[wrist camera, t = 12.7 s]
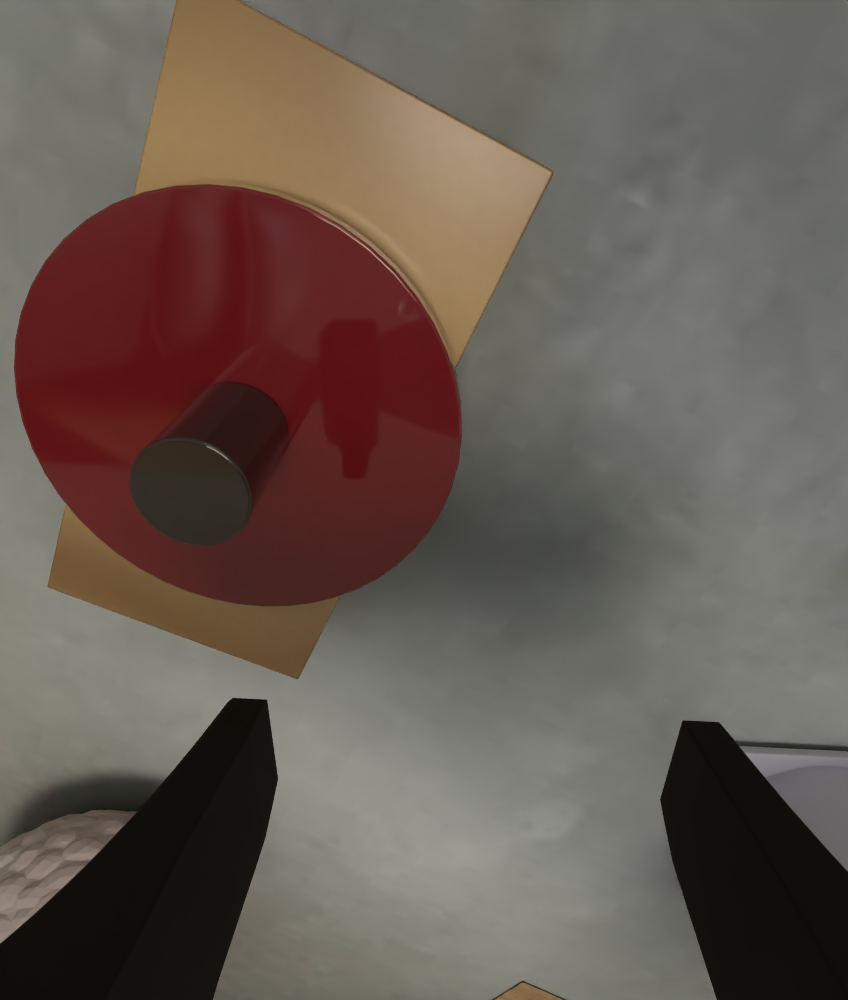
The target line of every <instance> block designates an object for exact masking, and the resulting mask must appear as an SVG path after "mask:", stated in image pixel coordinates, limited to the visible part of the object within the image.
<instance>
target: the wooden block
mask: <svg viewBox="0 0 848 1000" xmlns="http://www.w3.org/2000/svg"><path fill="white" fill-rule="evenodd" d="M552 176H553V171H552V170H551V169H549V168H547V167H545V166H543V165H542V164H540V163H538V162H536V161H534V160H532V159H530V158H529V157H527V156H525V155H523V154H521V153H519V152H517V151H516V150H514V149H512V148H510V147H508V146H506V145H505V144H503V143H501V142H499V141H497V140H495V139H493V138H492V137H490V136H488V135H486V134H484V133H482V132H481V131H479V130H477V129H475V128H473V127H471V126H469V125H468V124H466V123H464V122H462V121H460V120H458V119H457V118H455V117H453V116H451V115H449V114H447V113H445V112H444V111H442V110H440V109H438V108H436V107H434V106H433V105H431V104H429V103H427V102H425V101H423V100H421V99H420V98H418V97H416V96H414V95H412V94H410V93H409V92H407V91H405V90H403V89H401V88H399V87H397V86H396V85H394V84H392V83H390V82H388V81H386V80H385V79H383V78H381V77H379V76H377V75H375V74H373V73H372V72H370V71H368V70H366V69H364V68H362V67H361V66H359V65H357V64H355V63H353V62H351V61H349V60H348V59H346V58H344V57H342V56H340V55H338V54H336V53H335V52H333V51H331V50H329V49H327V48H325V47H324V46H322V45H320V44H318V43H316V42H314V41H312V40H311V39H309V38H307V37H305V36H303V35H301V34H300V33H298V32H296V31H294V30H292V29H290V28H288V27H287V26H285V25H283V24H281V23H279V22H277V21H276V20H274V19H272V18H270V17H268V16H266V15H264V14H263V13H261V12H259V11H257V10H255V9H253V8H252V7H250V6H248V5H246V4H244V3H242V2H240V1H239V0H177V1H176V5H175V10H174V14H173V19H172V24H171V28H170V33H169V37H168V42H167V46H166V51H165V55H164V60H163V64H162V69H161V74H160V78H159V83H158V87H157V92H156V96H155V101H154V105H153V110H152V114H151V119H150V123H149V128H148V133H147V137H146V142H145V146H144V151H143V155H142V160H141V164H140V169H139V173H138V178H137V183H136V187H135V192H134V195H137V194H140V193H142V192H146V191H151V190H156V189H161V188H166V187H170V186H175V185H181V184H196V183H215V182H216V183H227V184H237V185H248V186H253V187H257V188H261V189H265V190H270V191H274V192H278V193H282V194H285V195H287V196H290V197H293V198H295V199H298V200H300V201H303V202H306V203H308V204H311V205H313V206H316V207H317V208H319V209H321V210H323V211H325V212H327V213H328V214H330V215H332V216H334V217H336V218H337V219H339V220H341V221H343V222H345V223H346V224H348V225H349V226H350V227H352V228H353V229H354V230H356V231H357V232H359V233H360V234H361V235H363V236H364V237H365V238H367V239H368V240H370V241H371V242H372V243H373V244H375V245H376V246H377V247H378V248H379V249H380V250H381V251H382V252H383V253H384V254H385V255H386V256H387V257H388V258H389V259H390V260H391V261H393V262H394V263H395V264H396V265H397V266H398V268H399V269H400V270H401V271H402V272H403V274H404V275H405V276H406V277H407V278H408V280H409V281H410V282H411V283H412V285H413V286H414V287H415V288H416V289H417V291H418V292H419V294H420V295H421V297H422V298H423V300H424V302H425V303H426V305H427V306H428V308H429V310H430V311H431V313H432V314H433V316H434V318H435V320H436V322H437V324H438V326H439V328H440V330H441V333H442V335H443V337H444V339H445V341H446V344H447V346H448V349H449V352H450V355H451V358H452V362H453V365H454V368H456V366H457V364H458V362H459V360H460V358H461V356H462V354H463V352H464V350H465V348H466V346H467V344H468V342H469V340H470V338H471V336H472V334H473V332H474V330H475V328H476V326H477V324H478V322H479V320H480V318H481V316H482V314H483V312H484V310H485V308H486V306H487V304H488V302H489V300H490V298H491V296H492V294H493V292H494V290H495V288H496V286H497V284H498V283H499V281H500V279H501V277H502V275H503V273H504V271H505V269H506V267H507V265H508V263H509V261H510V259H511V257H512V255H513V253H514V251H515V249H516V247H517V245H518V243H519V241H520V239H521V237H522V235H523V233H524V231H525V229H526V227H527V225H528V223H529V221H530V219H531V217H532V215H533V213H534V211H535V209H536V207H537V205H538V203H539V201H540V199H541V197H542V195H543V193H544V191H545V189H546V188H547V186H548V184H549V182H550V180H551V178H552ZM48 587H49V588H51V589H54V590H57V591H59V592H62V593H65V594H67V595H70V596H73V597H76V598H78V599H81V600H84V601H86V602H89V603H92V604H95V605H97V606H100V607H103V608H105V609H108V610H111V611H114V612H116V613H119V614H122V615H125V616H127V617H130V618H133V619H135V620H138V621H141V622H144V623H146V624H149V625H152V626H154V627H157V628H160V629H163V630H165V631H168V632H171V633H173V634H176V635H179V636H182V637H184V638H187V639H190V640H192V641H195V642H198V643H201V644H203V645H206V646H209V647H211V648H214V649H217V650H220V651H222V652H225V653H228V654H230V655H233V656H236V657H239V658H241V659H244V660H247V661H249V662H252V663H255V664H258V665H260V666H263V667H266V668H268V669H271V670H274V671H277V672H279V673H282V674H285V675H287V676H290V677H293V678H296V679H298V678H299V676H300V674H301V672H302V670H303V668H304V666H305V665H306V663H307V661H308V659H309V657H310V655H311V653H312V651H313V649H314V647H315V645H316V643H317V641H318V639H319V637H320V635H321V633H322V631H323V629H324V627H325V625H326V623H327V621H328V619H329V617H330V615H331V613H332V611H333V609H334V607H335V605H336V603H337V601H338V599H339V597H340V596H338V597H335V598H331V599H327V600H323V601H319V602H314V603H310V604H301V605H293V606H252V605H242V604H234V603H229V602H224V601H219V600H214V599H210V598H207V597H204V596H201V595H197V594H194V593H191V592H188V591H185V590H183V589H180V588H178V587H176V586H173V585H171V584H168V583H166V582H164V581H162V580H160V579H158V578H156V577H154V576H152V575H150V574H149V573H147V572H145V571H143V570H141V569H139V568H138V567H136V566H135V565H133V564H132V563H130V562H129V561H127V560H126V559H124V558H123V557H121V556H120V555H118V554H117V553H116V552H115V551H113V550H112V549H111V548H110V547H108V546H107V545H106V544H105V543H104V542H102V541H101V540H100V539H99V538H97V537H96V536H95V535H94V534H93V533H92V532H91V531H90V530H89V529H88V528H87V527H86V526H85V525H84V524H83V523H82V522H81V521H80V520H79V519H78V518H77V516H76V515H75V514H74V513H73V512H72V510H71V509H70V508H69V507H68V505H67V504H66V505H65V510H64V514H63V519H62V523H61V528H60V532H59V537H58V541H57V546H56V550H55V555H54V560H53V564H52V569H51V573H50V578H49V582H48Z"/></svg>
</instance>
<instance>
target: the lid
mask: <svg viewBox="0 0 848 1000" xmlns="http://www.w3.org/2000/svg"><path fill="white" fill-rule="evenodd" d="M14 372H15V382H16V393H17V399H18V403H19V408H20V412H21V416H22V421H23V424H24V427H25V430H26V432H27V435H28V438H29V440H30V443H31V446H32V449H33V451H34V453H35V455H36V457H37V458H38V460H39V462H40V464H41V466H42V468H43V470H44V472H45V474H46V476H47V477H48V479H49V480H50V482H51V483H52V485H53V486H54V488H55V489H56V491H57V492H58V494H59V495H60V497H61V498H62V499H63V501H64V502H65V503H66V504H67V505H68V507H69V508H70V509H71V510H72V512H73V513H74V514H75V515H76V516H77V518H78V519H79V520H80V521H81V522H82V523H83V524H84V525H85V526H86V527H87V528H88V529H89V530H90V531H91V532H92V533H93V534H94V535H95V536H96V537H97V538H99V539H100V540H101V541H102V542H104V543H105V544H106V545H107V546H108V547H110V548H111V549H112V550H113V551H115V552H116V553H117V554H118V555H120V556H121V557H123V558H124V559H126V560H127V561H129V562H130V563H132V564H133V565H135V566H136V567H138V568H139V569H141V570H143V571H145V572H147V573H149V574H150V575H152V576H154V577H156V578H158V579H160V580H162V581H164V582H166V583H168V584H171V585H173V586H176V587H178V588H180V589H183V590H185V591H188V592H191V593H194V594H197V595H201V596H204V597H207V598H210V599H214V600H219V601H224V602H229V603H234V604H242V605H252V606H293V605H301V604H310V603H314V602H319V601H323V600H327V599H331V598H335V597H338V596H340V595H343V594H346V593H349V592H351V591H354V590H357V589H359V588H360V587H362V586H364V585H366V584H368V583H370V582H372V581H374V580H376V579H378V578H379V577H381V576H382V575H384V574H385V573H386V572H388V571H389V570H391V569H392V568H394V567H395V566H396V565H398V564H399V563H400V562H401V561H402V560H403V559H404V558H405V557H406V556H408V555H409V554H410V553H411V552H412V551H413V550H414V549H415V548H416V547H417V545H418V544H419V543H420V542H421V541H422V539H423V538H424V537H425V536H426V535H427V533H428V532H429V531H430V529H431V528H432V526H433V524H434V523H435V521H436V520H437V518H438V516H439V515H440V513H441V511H442V510H443V507H444V505H445V503H446V500H447V498H448V496H449V493H450V491H451V489H452V485H453V482H454V478H455V474H456V471H457V467H458V463H459V455H460V446H461V438H462V426H461V400H460V394H459V387H458V381H457V375H456V372H455V368H454V365H453V362H452V358H451V355H450V352H449V349H448V346H447V344H446V341H445V339H444V337H443V335H442V333H441V330H440V328H439V326H438V324H437V322H436V320H435V318H434V316H433V314H432V313H431V311H430V310H429V308H428V306H427V305H426V303H425V302H424V300H423V298H422V297H421V295H420V294H419V292H418V291H417V289H416V288H415V287H414V286H413V285H412V283H411V282H410V281H409V280H408V278H407V277H406V276H405V275H404V274H403V272H402V271H401V270H400V269H399V268H398V266H397V265H396V264H395V263H394V262H393V261H391V260H390V259H389V258H388V257H387V256H386V255H385V254H384V253H383V252H382V251H381V250H380V249H379V248H378V247H377V246H376V245H375V244H373V243H372V242H371V241H370V240H368V239H367V238H365V237H364V236H363V235H361V234H360V233H359V232H357V231H356V230H354V229H353V228H352V227H350V226H349V225H348V224H346V223H345V222H343V221H341V220H339V219H337V218H336V217H334V216H332V215H330V214H328V213H327V212H325V211H323V210H321V209H319V208H317V207H316V206H313V205H311V204H308V203H306V202H303V201H300V200H298V199H295V198H293V197H290V196H287V195H285V194H282V193H278V192H274V191H270V190H265V189H261V188H257V187H253V186H248V185H237V184H227V183H216V182H215V183H196V184H181V185H175V186H170V187H166V188H161V189H156V190H151V191H146V192H142V193H140V194H137V195H134V196H132V197H129V198H126V199H124V200H121V201H119V202H116V203H113V204H112V205H110V206H108V207H107V208H105V209H103V210H101V211H100V212H98V213H96V214H95V215H93V216H91V217H90V218H88V219H86V220H85V221H84V222H83V223H82V224H80V225H79V226H78V227H77V228H76V229H75V230H73V231H72V232H71V233H70V234H69V235H68V236H66V237H65V238H64V239H63V240H62V241H61V243H60V244H59V245H58V246H57V247H56V249H55V250H54V251H53V252H52V253H51V255H50V256H49V257H48V258H47V259H46V261H45V262H44V264H43V266H42V268H41V269H40V271H39V273H38V275H37V276H36V278H35V280H34V281H33V283H32V285H31V287H30V290H29V293H28V295H27V298H26V301H25V303H24V306H23V309H22V311H21V315H20V320H19V325H18V330H17V335H16V340H15V360H14Z"/></svg>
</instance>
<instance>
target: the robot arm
mask: <svg viewBox="0 0 848 1000" xmlns="http://www.w3.org/2000/svg"><path fill="white" fill-rule="evenodd" d="M277 781H278V775H277V768H276V761H275V754H274V747H273V739H272V732H271V725H270V718H269V710H268V703H267V700H261V699H241V698H233V699H231V700H230V701H229V702H228V703H227V704H226V705H225V706H224V708H223V709H222V710H221V712H220V713H219V714H218V715H217V717H216V718H215V719H214V721H213V722H212V723H211V724H210V726H209V727H208V728H207V730H206V731H205V732H204V733H203V735H202V736H201V737H200V738H199V740H198V741H197V742H196V743H195V745H194V746H193V747H192V748H191V749H190V751H189V752H188V753H187V754H186V756H185V757H184V758H183V759H182V760H181V762H180V763H179V764H178V765H177V766H176V768H175V769H174V770H173V771H172V772H171V773H170V775H169V776H168V777H167V778H166V779H165V780H164V781H163V783H162V784H161V785H160V786H159V787H158V788H157V790H156V791H155V792H154V793H153V794H152V795H151V797H150V798H149V799H148V800H147V801H146V802H145V803H144V804H143V806H142V807H141V808H140V809H139V810H138V811H137V812H136V813H135V814H134V815H133V816H132V818H131V819H130V820H129V821H128V822H127V823H126V824H125V825H124V826H123V827H122V828H121V829H120V830H119V831H118V832H117V833H116V834H115V836H114V837H113V838H112V839H111V840H110V841H109V842H108V843H107V844H106V845H105V846H104V847H103V848H102V849H101V850H100V851H99V852H98V853H97V854H96V855H95V856H94V857H93V858H92V859H91V860H90V861H89V862H88V863H87V864H86V865H85V866H84V867H83V868H82V869H81V870H80V871H79V872H78V873H77V874H76V875H75V876H74V877H73V878H72V879H71V880H70V881H69V882H68V883H67V884H66V885H65V886H64V887H63V888H62V889H61V890H60V891H59V892H57V893H56V894H55V895H54V896H53V897H52V898H51V899H50V900H49V901H48V902H47V903H46V904H45V905H44V906H42V907H41V908H40V909H39V910H38V911H37V912H36V913H35V914H34V915H32V916H31V917H30V918H29V919H28V920H27V921H26V922H24V923H23V924H22V925H21V926H20V927H19V928H18V929H16V930H15V931H14V932H13V933H12V934H11V935H10V936H8V937H7V938H6V939H5V940H4V941H3V942H2V943H0V1000H213V997H214V994H215V990H216V987H217V983H218V980H219V977H220V974H221V971H222V968H223V965H224V962H225V959H226V956H227V953H228V950H229V947H230V944H231V941H232V938H233V935H234V932H235V929H236V926H237V923H238V920H239V916H240V913H241V910H242V907H243V904H244V901H245V898H246V895H247V892H248V889H249V886H250V883H251V880H252V877H253V874H254V871H255V868H256V865H257V862H258V859H259V856H260V853H261V850H262V846H263V843H264V840H265V837H266V832H267V828H268V823H269V819H270V814H271V810H272V805H273V800H274V795H275V790H276V786H277ZM660 801H661V806H662V811H663V817H664V822H665V827H666V832H667V837H668V842H669V846H670V851H671V856H672V860H673V864H674V867H675V871H676V874H677V877H678V880H679V890H680V893H681V895H682V896H684V899H685V902H686V906H687V909H688V912H689V915H690V918H691V921H692V924H693V927H694V930H695V934H696V937H697V940H698V943H699V946H700V949H701V952H702V955H703V958H704V961H705V964H706V967H707V971H708V974H709V977H710V980H711V983H712V986H713V989H714V992H715V995H716V998H717V1000H848V751H831V750H811V749H791V748H771V747H751V746H739V745H738V744H737V743H736V742H735V741H734V739H733V738H732V737H731V736H730V735H729V733H728V732H727V731H726V730H725V729H724V727H723V726H722V725H721V724H720V723H719V722H704V721H684V720H683V721H682V724H681V728H680V731H679V735H678V739H677V742H676V746H675V749H674V753H673V756H672V760H671V763H670V767H669V770H668V774H667V777H666V781H665V784H664V788H663V791H662V795H661V799H660Z"/></svg>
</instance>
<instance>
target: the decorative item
mask: <svg viewBox="0 0 848 1000" xmlns="http://www.w3.org/2000/svg"><path fill="white" fill-rule="evenodd" d="M136 812H137V811H130V812H127V811H117V810H109V809H108V810H91V811H89V812H86V813H84V814H69V815H66V816H63V817H60V818H57V819H55V820H52V821H48V822H46V823H44V824H42V825H41V826H39V827H38V828H36V829H34V830H31V831H29V832H25V833H22V834H20V835H19V836H17V837H15V838H14V839H12V840H10V841H9V842H7V843H5V844H4V845H2V846H1V847H0V943H2V942H3V941H4V940H5V939H6V938H7V937H8V936H10V935H11V934H12V933H13V932H14V931H15V930H16V929H18V928H19V927H20V926H21V925H22V924H23V923H24V922H26V921H27V920H28V919H29V918H30V917H31V916H32V915H34V914H35V913H36V912H37V911H38V910H39V909H40V908H41V907H42V906H44V905H45V904H46V903H47V902H48V901H49V900H50V899H51V898H52V897H53V896H54V895H55V894H56V893H57V892H59V891H60V890H61V889H62V888H63V887H64V886H65V885H66V884H67V883H68V882H69V881H70V880H71V879H72V878H73V877H74V876H75V875H76V874H77V873H78V872H79V871H80V870H81V869H82V868H83V867H84V866H85V865H86V864H87V863H88V862H89V861H90V860H91V859H92V858H93V857H94V856H95V855H96V854H97V853H98V852H99V851H100V850H101V849H102V848H103V847H104V846H105V845H106V844H107V843H108V842H109V841H110V840H111V839H112V838H113V837H114V836H115V834H116V833H117V832H118V831H119V830H120V829H121V828H122V827H123V826H124V825H125V824H126V823H127V822H128V821H129V820H130V819H131V818H132V816H133V815H134V814H135V813H136Z"/></svg>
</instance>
